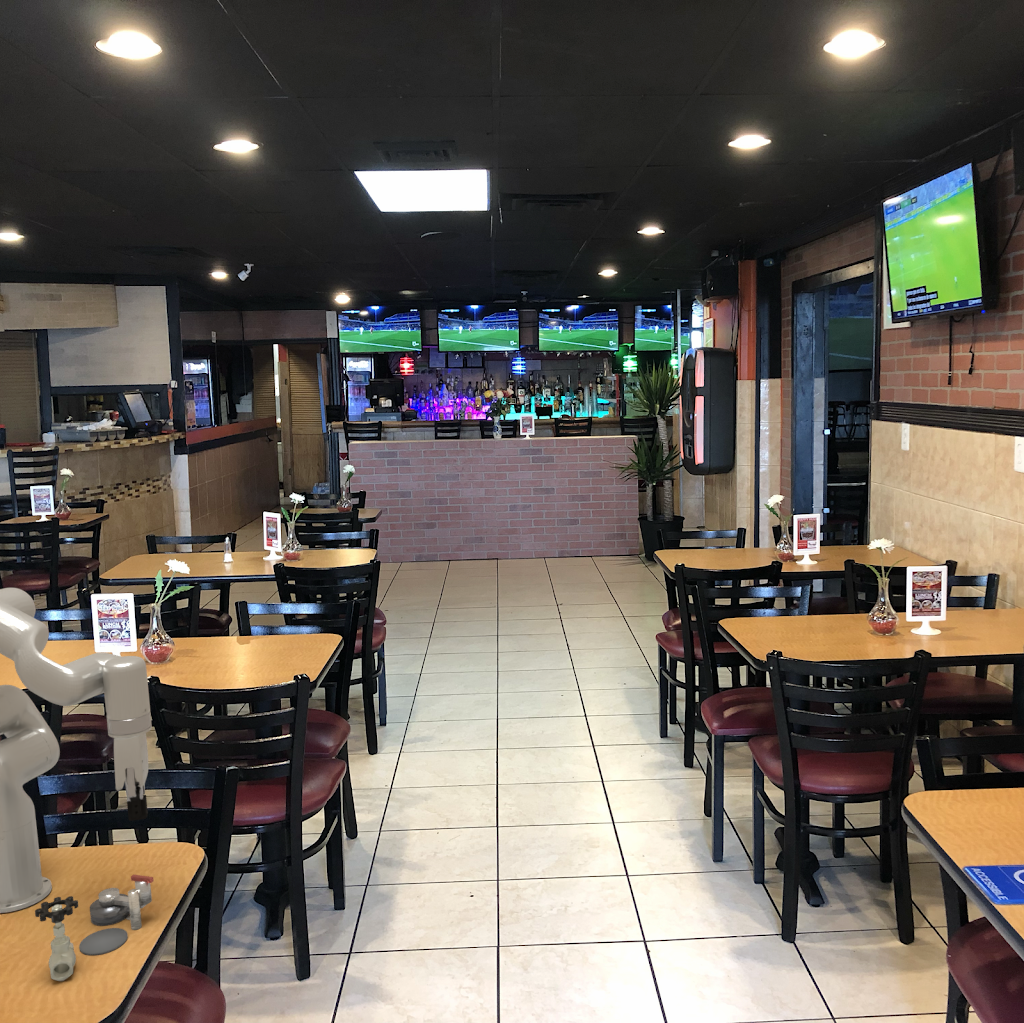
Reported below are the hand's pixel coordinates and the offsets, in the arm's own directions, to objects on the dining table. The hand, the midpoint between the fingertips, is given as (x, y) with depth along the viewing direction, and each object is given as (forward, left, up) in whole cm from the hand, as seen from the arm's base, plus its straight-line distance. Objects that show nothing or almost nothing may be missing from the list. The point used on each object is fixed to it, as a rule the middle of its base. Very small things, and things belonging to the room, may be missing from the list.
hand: (138, 817), depth 175 cm
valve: (-2, -19, -19) cm, 27 cm away
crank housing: (-4, -2, -19) cm, 19 cm away
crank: (-2, -3, -16) cm, 16 cm away
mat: (-1, -10, -19) cm, 22 cm away
